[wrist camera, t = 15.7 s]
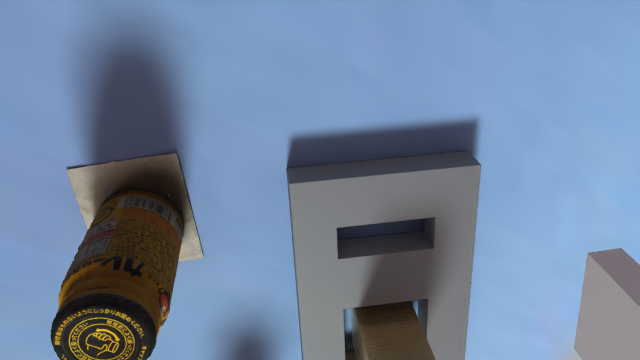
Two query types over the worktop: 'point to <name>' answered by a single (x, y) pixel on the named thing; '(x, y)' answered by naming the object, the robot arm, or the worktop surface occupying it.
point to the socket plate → (384, 246)
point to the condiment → (124, 258)
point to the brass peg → (389, 333)
